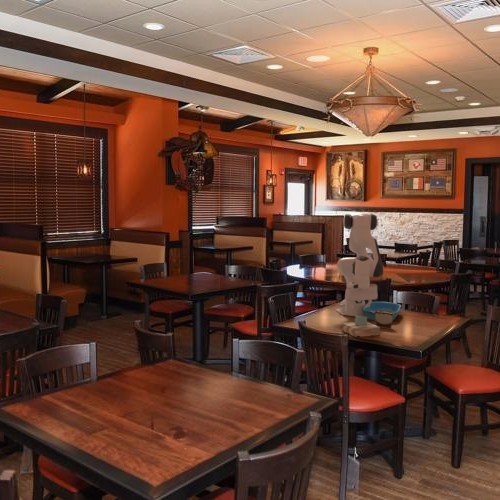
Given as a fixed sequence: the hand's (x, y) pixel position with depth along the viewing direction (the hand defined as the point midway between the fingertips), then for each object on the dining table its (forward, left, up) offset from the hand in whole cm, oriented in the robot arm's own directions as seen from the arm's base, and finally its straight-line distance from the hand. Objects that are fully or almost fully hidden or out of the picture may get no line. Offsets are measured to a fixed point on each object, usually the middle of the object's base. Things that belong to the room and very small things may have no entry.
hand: (361, 307), depth 327 cm
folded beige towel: (0, 0, -16) cm, 16 cm away
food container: (-8, +22, -15) cm, 28 cm away
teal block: (0, 0, -11) cm, 11 cm away
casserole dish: (-33, +36, -16) cm, 51 cm away
